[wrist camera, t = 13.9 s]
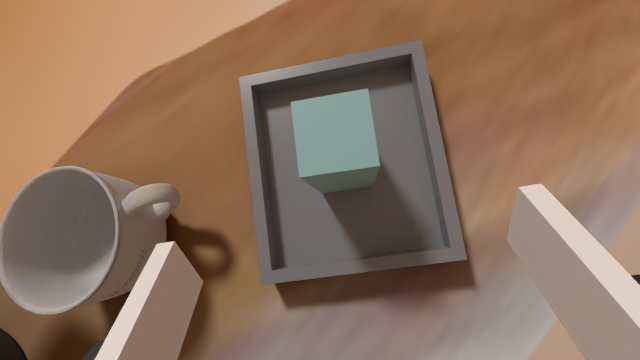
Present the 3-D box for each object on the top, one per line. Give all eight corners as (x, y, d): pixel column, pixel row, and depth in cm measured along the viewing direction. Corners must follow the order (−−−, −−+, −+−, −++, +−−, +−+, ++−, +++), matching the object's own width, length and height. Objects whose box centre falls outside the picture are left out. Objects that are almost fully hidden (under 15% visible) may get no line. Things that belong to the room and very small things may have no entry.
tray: (271, 278, 28) (261, 285, 25) (251, 91, 30) (239, 77, 28) (455, 255, 26) (467, 259, 23) (415, 58, 29) (421, 39, 26)
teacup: (89, 302, 30) (-9, 330, 22) (77, 194, 32) (-17, 184, 24) (223, 269, 28) (169, 287, 21) (202, 158, 30) (146, 136, 22)
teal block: (322, 193, 27) (299, 177, 17) (316, 144, 28) (290, 101, 18) (373, 186, 27) (380, 165, 17) (366, 136, 27) (367, 88, 17)
